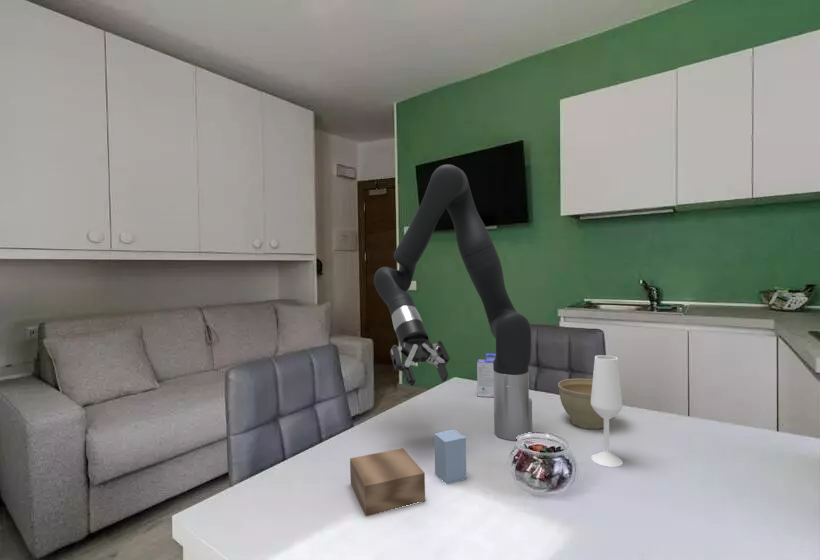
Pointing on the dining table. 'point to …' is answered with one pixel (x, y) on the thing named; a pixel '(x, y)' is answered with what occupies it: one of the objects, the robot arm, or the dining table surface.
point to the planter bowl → (579, 403)
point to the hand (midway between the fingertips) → (429, 381)
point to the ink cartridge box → (485, 376)
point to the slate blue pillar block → (450, 456)
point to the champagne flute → (606, 402)
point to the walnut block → (386, 481)
